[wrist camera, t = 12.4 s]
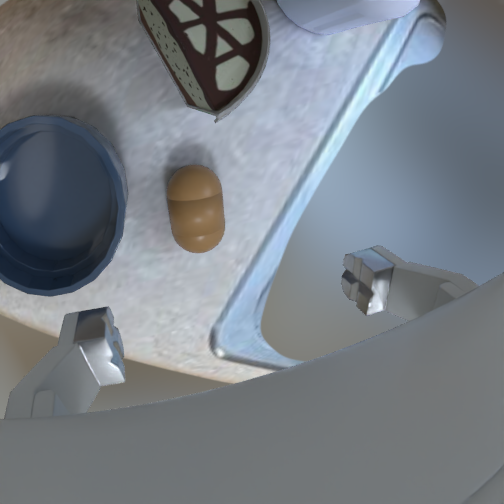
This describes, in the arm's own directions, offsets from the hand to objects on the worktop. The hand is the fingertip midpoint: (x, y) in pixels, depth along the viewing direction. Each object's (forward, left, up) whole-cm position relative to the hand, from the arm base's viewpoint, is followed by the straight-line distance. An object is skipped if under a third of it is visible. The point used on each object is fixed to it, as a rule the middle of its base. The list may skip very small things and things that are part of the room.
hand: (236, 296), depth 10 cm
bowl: (-1, -11, -20) cm, 23 cm away
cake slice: (-12, +3, -20) cm, 23 cm away
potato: (+2, +2, -19) cm, 20 cm away
